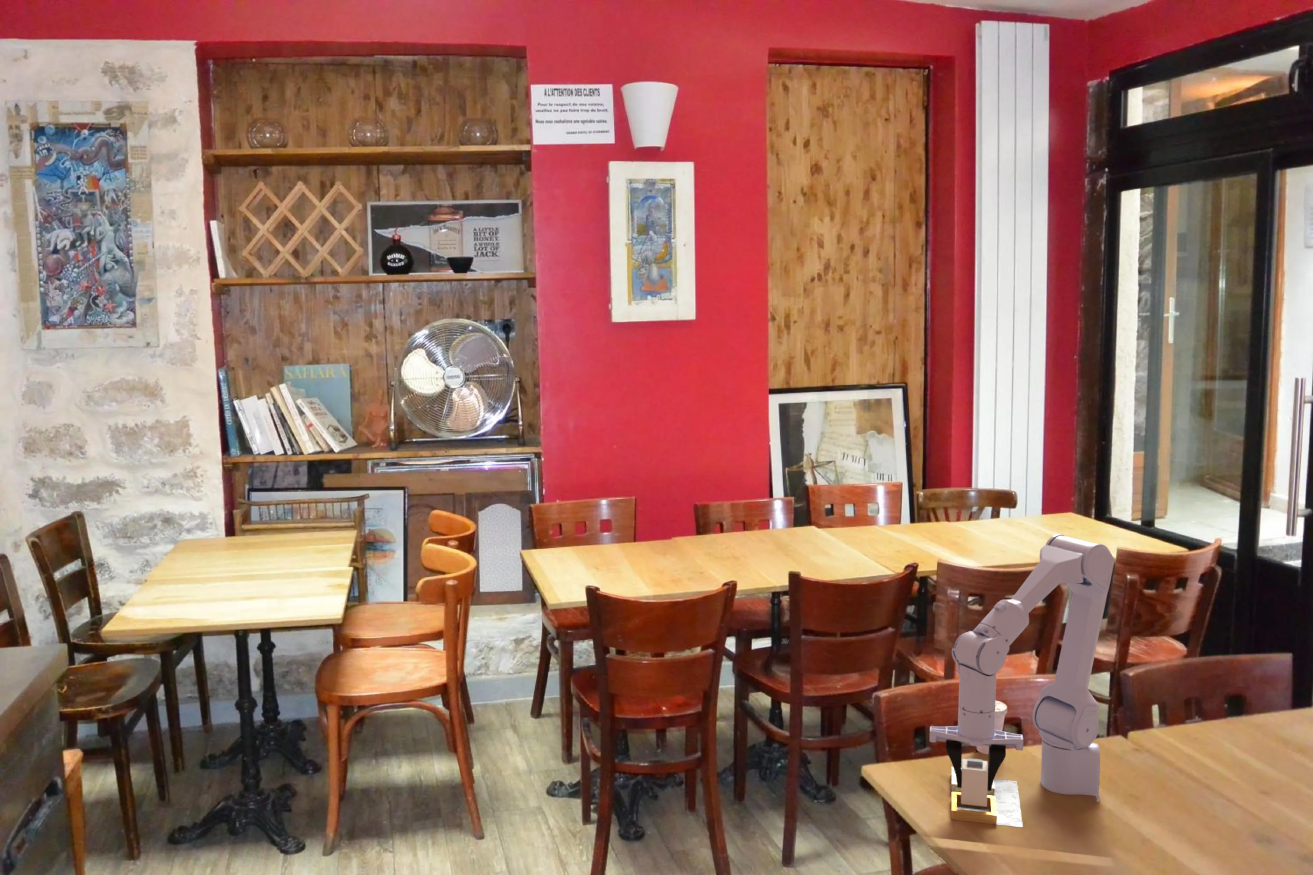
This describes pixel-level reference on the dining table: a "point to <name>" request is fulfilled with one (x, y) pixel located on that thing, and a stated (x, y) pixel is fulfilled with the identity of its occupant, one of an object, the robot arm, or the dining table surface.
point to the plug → (974, 782)
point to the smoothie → (996, 723)
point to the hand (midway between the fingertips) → (974, 786)
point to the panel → (989, 805)
